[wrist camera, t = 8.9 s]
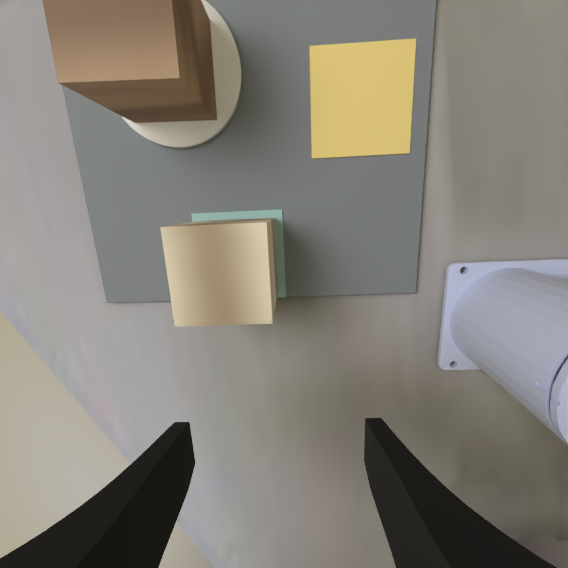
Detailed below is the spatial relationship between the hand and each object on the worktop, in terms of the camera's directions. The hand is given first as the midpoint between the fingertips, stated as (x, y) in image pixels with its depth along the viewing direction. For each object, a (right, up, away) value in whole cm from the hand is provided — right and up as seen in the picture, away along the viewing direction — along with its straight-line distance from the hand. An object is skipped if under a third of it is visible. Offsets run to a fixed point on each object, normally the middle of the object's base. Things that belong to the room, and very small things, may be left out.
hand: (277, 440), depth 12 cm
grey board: (-2, +14, +7) cm, 16 cm away
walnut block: (-6, +18, +5) cm, 20 cm away
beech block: (-3, +8, +8) cm, 12 cm away
